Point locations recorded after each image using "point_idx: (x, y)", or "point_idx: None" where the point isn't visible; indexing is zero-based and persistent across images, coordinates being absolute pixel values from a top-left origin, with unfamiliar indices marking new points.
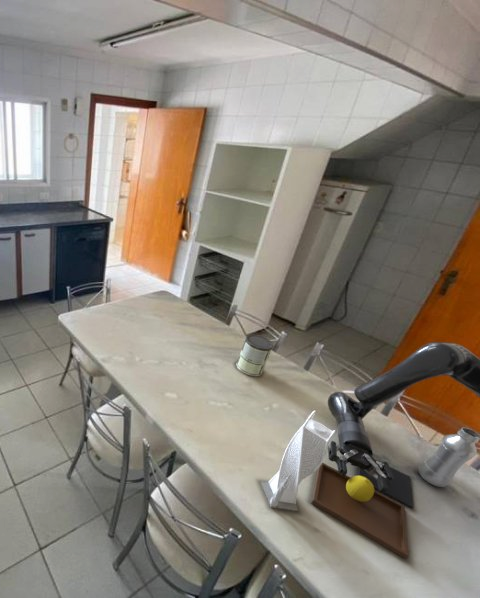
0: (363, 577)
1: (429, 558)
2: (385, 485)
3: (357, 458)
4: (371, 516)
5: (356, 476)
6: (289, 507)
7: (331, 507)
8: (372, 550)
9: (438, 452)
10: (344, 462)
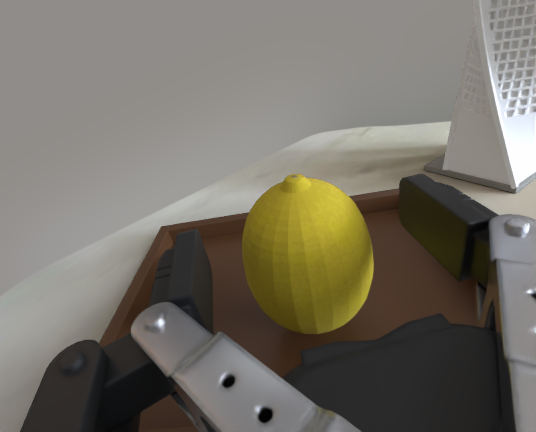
0: (265, 168)
1: (88, 288)
2: (176, 244)
3: (434, 365)
4: (241, 287)
5: (347, 203)
6: (444, 157)
7: (366, 224)
8: (246, 210)
9: None
10: (469, 212)
